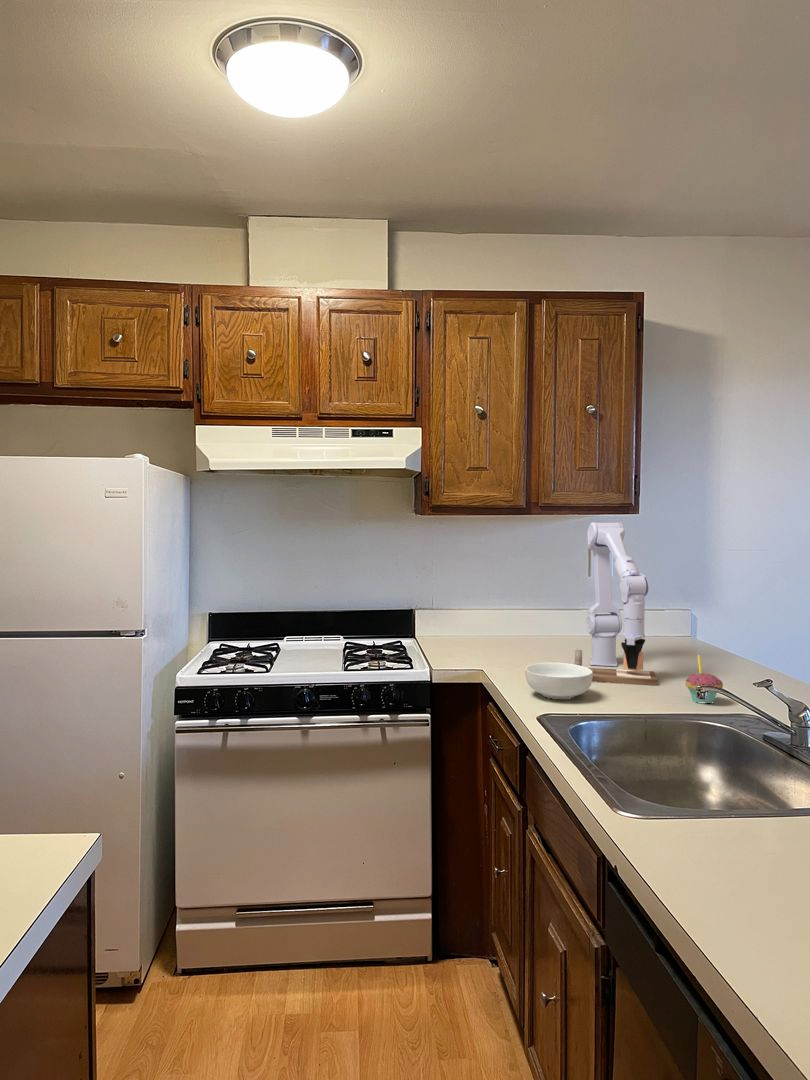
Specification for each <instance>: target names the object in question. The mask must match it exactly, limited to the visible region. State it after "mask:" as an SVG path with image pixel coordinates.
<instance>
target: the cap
mask: <svg viewBox="0 0 810 1080" xmlns="http://www.w3.org/2000/svg"><path fill="white" fill-rule="evenodd" d="M622 666H623V667H622V668H623V669H624V670H642V671H644V670H643V669H644V652H643V651H642V650H641V651H640V653H639V656H638V663H637V667H636V669H629V668H628V666H627V661H626V656H625V652H624V651H623V665H622Z"/></svg>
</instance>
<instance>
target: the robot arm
mask: <svg viewBox="0 0 810 1080" xmlns="http://www.w3.org/2000/svg"><path fill="white" fill-rule="evenodd" d="M625 533H626V531H625V526H624V525H623V523H622V522H621V521H616V522H595V521H594V522H591V523H590V524H589V526H588V527H587V534H586V535H587V545H588V546H587V547H588V549H589V550H590V551H592V557H593V559H592V560H593V575H594V595H595V596H594V599H595V603H594V604H593V605H592V606H590V608H588V610H587V611H586V619H585V626H586V627H585V628H586V631H587V632H588V634H589V635H590V636H591V657H590V660H589V661H590V662H589V663H590V664H589V665H590V666H604V667H617V666H618V659H616V657H617V656H616V655H617V648H616V647H617V637H618V636H620V637H622V638H624V640H623V641H624V642H623V641H622V642H620V643H621V644H620V645H621V648H622V650H623V653H624V652H625V656H626V661H627V666H628V668H629V669H636V667H637V663H638V656H639V653H640V651H642V649H643V646H644V644H645V642H646V639H645V638H646V634H645V615H646V614H645V609H646V608H645V606H646V605H645V604H646V603H645V602H646V600H645V597H646V596H647V595H648V594H649V591H650V583H649V580H648V577H647V576H646V575H644V574H643V573H641V572H640V571H639V569H638V566H637V564H636V562H635V560H634V558H633V557H632V556H630V555H628V553H627V550H626V549H627V548H626V546H625V542H624V539H625V535H626V534H625ZM610 553H611V554H612V557H613V558H614V560H615V561H614V563H613V567H614V569H615V571H616V573H617V576H618V578H619V581H620V582H619V583H620V584H619V592H620V595H621V602H622V603H623V607H622V608H623V609H622V614H623V615H622V616H621V609H619V608H618V607H617V606H616V605H614V604H613V601H612V600H613V599H612V581H611V562H610V559H611V558H610ZM598 613H599V614H598ZM602 613H603V614H602ZM622 617H623V618H622ZM621 631H622V632H621Z"/></svg>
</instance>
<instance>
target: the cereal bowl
mask: <svg viewBox="0 0 810 1080" xmlns="http://www.w3.org/2000/svg"><path fill="white" fill-rule="evenodd" d="M589 668H590V667H586V666H583V665H582V666H579V665H575V663H574V664H573V663H565V662H557V661H556V662H553V661H551V662H537V663H532V664H528V665H527V666H526V667H525V672H524V673H525V678H526V682H527V685H528V686H529V688H531V689H532V690H533V691H535V692H536V693H538V694H541V695H542V696H543V697H544V698H546V697H547V699H550V698H552V699H551V700H556V699H567V700H570V699H569V698H572V699H574V698H575V697H578V696H581V695H582V694H584V693H586V692H587V691H588V690H589V689H590V687H591V686H592V683H593V682H592V677H593V672H592V670H590V669H589Z"/></svg>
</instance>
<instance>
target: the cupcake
mask: <svg viewBox="0 0 810 1080" xmlns="http://www.w3.org/2000/svg"><path fill="white" fill-rule="evenodd" d="M697 653H698V654H697V663H698V672H696V673H693V674H690V675H689V676H687V678H686V679H685V686H686V688H687V689H688V690H689V693H690V696H691V699H692V701H693V702H694V701H696V702H705V703H712V702H713V703H714V702H715V699H716V697H717V694H718V692H714V691H708V692H707V696H706V699H705V700H701V699H697V697H696V687H697V686H699V685H700V686H714V687H718V688H722V689H723V688H724V683H723V681H722V680H721V679H719V677H717V676H715V675H714V674H711V673H704V672H703V669H702V668H703V667H702V658H701V656H702V655H700V653H699V652H697ZM696 702H695V703H696ZM713 703H712V704H713Z"/></svg>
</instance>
